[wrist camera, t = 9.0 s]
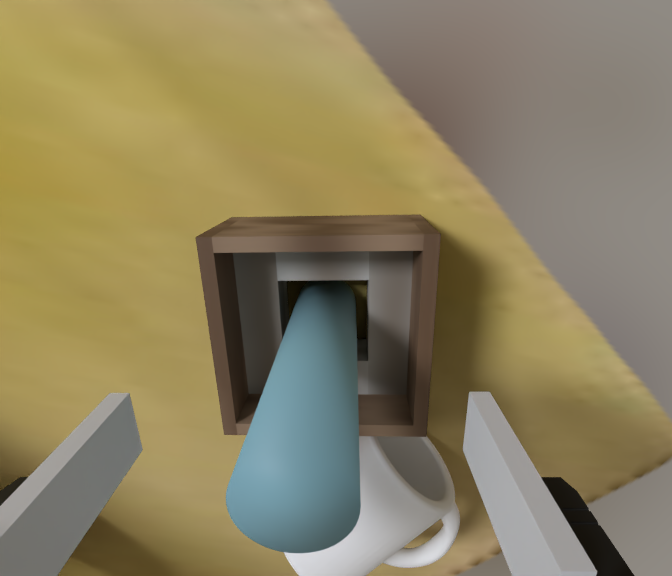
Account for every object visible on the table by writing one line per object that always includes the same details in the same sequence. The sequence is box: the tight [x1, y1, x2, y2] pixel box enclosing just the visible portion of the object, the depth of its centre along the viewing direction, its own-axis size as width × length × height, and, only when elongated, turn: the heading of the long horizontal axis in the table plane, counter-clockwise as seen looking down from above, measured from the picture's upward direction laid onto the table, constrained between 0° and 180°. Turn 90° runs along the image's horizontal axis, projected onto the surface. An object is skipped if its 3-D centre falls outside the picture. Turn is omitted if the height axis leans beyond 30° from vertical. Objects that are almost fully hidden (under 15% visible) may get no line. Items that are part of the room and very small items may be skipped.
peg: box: [226, 280, 361, 553], centre depth 19 cm, size 4×4×16 cm
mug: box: [284, 436, 460, 576], centre depth 27 cm, size 12×10×8 cm
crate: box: [196, 215, 441, 437], centre depth 24 cm, size 12×12×6 cm
